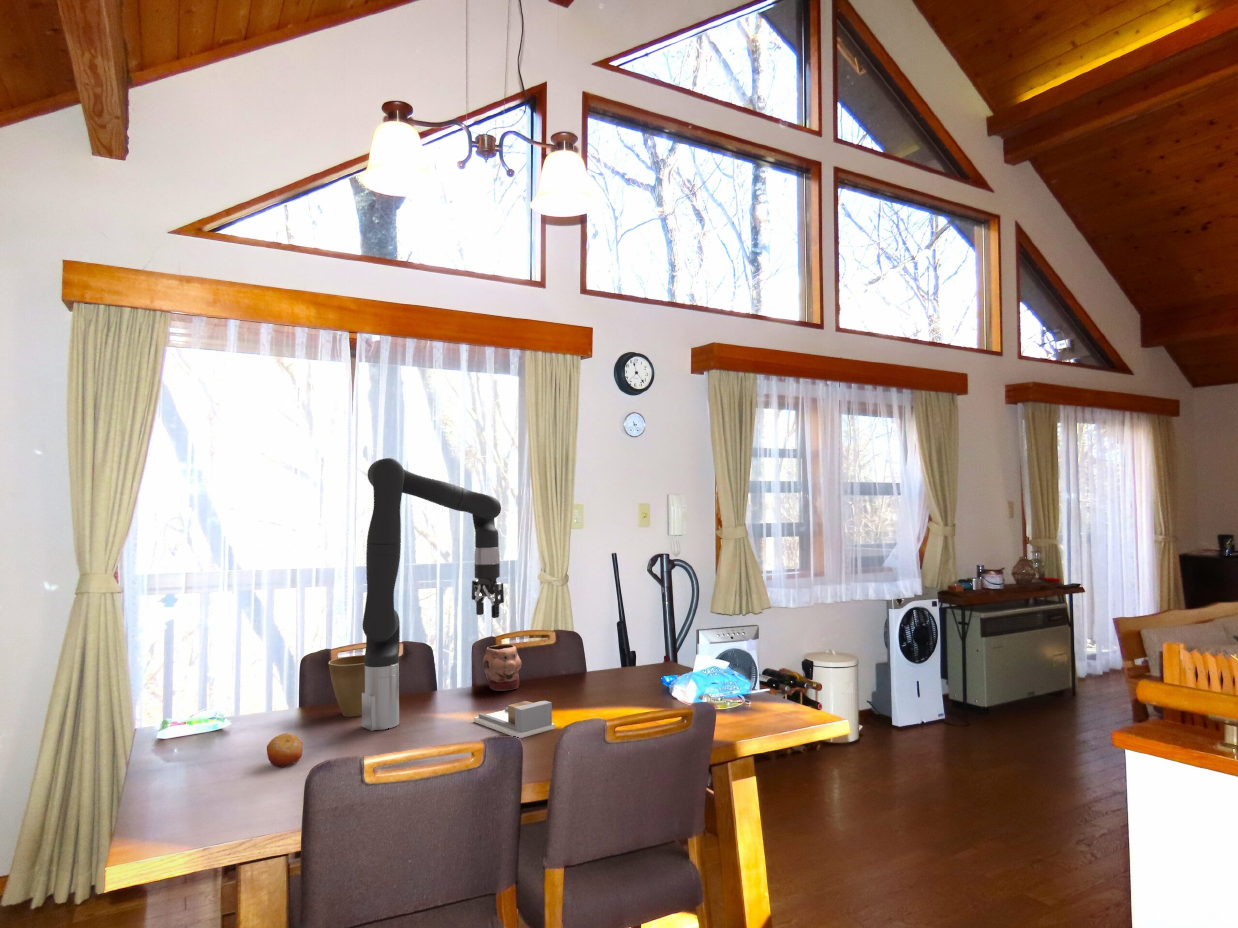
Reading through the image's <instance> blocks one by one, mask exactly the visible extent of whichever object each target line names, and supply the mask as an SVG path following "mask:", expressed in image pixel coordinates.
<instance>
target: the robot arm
mask: <svg viewBox="0 0 1238 928" xmlns="http://www.w3.org/2000/svg"><path fill="white" fill-rule="evenodd" d="M367 479H368V482H369V484H370V485H371V486H372V487H373V488H372V489H373V490H372V491H373V509H372V515H371V518H370V522H369V527H368V530H367V531H368V532H367V540H366V556H365V558H366V559H365V561H366V563H365V564H366V565H365V566H366V572H365V573H366V599H365V607H364V611H363V612H364V613H363V619H362V630H363V633H364V635H365V637H366V639H365V641H366V642H365V652H364V655H365V657H364V665H365V692H362V715H361V727H362V728H364V729H367V730H369V731H371V732H372V731H378V730H379V731H381V730H387V729H388V728H389V729H393V728H395V727H398V725H399V724H400V699H399V698H400V692H399V691H400V687H399V686H400V685H399V684H400V681H399V676H400V672H399V654H400V646H401V645H400V641H401V640H400V634H401V633H400V630H401V627H400V624H401V623H400V616H399V613H398V612H397V610H396V609H395V587H396V584H397V583H396V581H397V577H398V573H399V569H400V560H401V549H402V548H401V545H402V541H401V540H402V536H401V533H402V531H401V530H402V529H401V528H402V526H401V525H402V524H401V503H402V497H403V494H406V495H410V496H413V497H417V498H419V499H423V500H425V501H428V502H431V503H433V504H436V505H438V506H441V507H445V508H448V509H451V510H454V511H457V512H465V513H468V514H471V515H472V522H473V526H474V527H473V528H474V532H475V536H474V539H475V540H474V542H475V543H474V544H475V545H474V547H475V548H474V559H473V560H474V578H475V579H474V580H472V581H471V600H472V601H474V602H475V607H476V608H475V610H476V615H477V616H482V615H484V613H485V612H484V611H485V610H484V609H485V608H484V606H485V605H484V601H485V598H486V597H487V600H489V601H490V603H491V610H490V612H491V618H492V619H496V618H499V617H500V605H501V604H503V603H504V602H505V597H504V595H505V594H504V592H505V591H504V583H503V582H497V579H499V578H500V577H501V576H500V575H501V572H500V571H501V570H500V569H501V565H500V562H501V561H500V560H501V559H500V558H501V557H500V545H499V539H500V538H499V530H498V529H497V528H496V524H495V519H496V518H498V516H499V515H500V514H501V512H502V504H501V503H500V501H499V500H498V499H497V498H496V497H495V496H491V495H489V494H485V493H480V492H477V491H474V490H473V491H472V490H470V489H467V488H465V487H462V486H459V485H456V484H453V483H450V482H446V481H442V480H439V479H434V478H429V477H426V476H422V475H418V474H415V473H413V472H411V471H409V470H406V469H405V468H404V467H403V464H401V463H400V462H399V460H396V459H395V458H392V457H389V458H387V457H386V458H380V459H378V460H376V461H374V462H373V463H372V464H371V465H370V466H369V467H368V470H367Z"/></svg>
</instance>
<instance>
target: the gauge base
mask: <svg viewBox="0 0 1238 928" xmlns="http://www.w3.org/2000/svg"><path fill="white" fill-rule="evenodd" d="M540 701H541V702H539V701H537V703H535V702H532V703H533V704H529V705H525V706H520V707H516V708H515V725H514V724H512V723H509V722H508V706H507V707H506V706H505V708H504V709H503V710H500V711H496V712H491V713H487V714H485V713H483V712H481V713H478V716H475V717H473V722H474V723H476V724H479V725H482V726H484V727H487V728H490V729H492V730H495V731H497V732H500V733H503V734H505V735H509V736H510V737H513V736H516V737H519V738H518V739H523V738H527V737H529V736H533V735H537V734H540V733H543V732H544V733H545V732H548V731H552V730H555V729H556V724H555V723H553V713H552V711H553V709H552V703H553V702H551V701H547V700H540ZM516 737H515V738H516Z"/></svg>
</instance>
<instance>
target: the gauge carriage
mask: <svg viewBox="0 0 1238 928" xmlns="http://www.w3.org/2000/svg"><path fill="white" fill-rule="evenodd" d="M541 701H542V700H540V701H537V702H541ZM537 702H531V701H527V700H523V701H519V702H516V703H512V704H508V705H507V707H508V722H509V723H512V724H514V725H515V708H516V707H520V706H525V705H529V704H533V703H537Z"/></svg>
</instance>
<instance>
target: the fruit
mask: <svg viewBox="0 0 1238 928" xmlns="http://www.w3.org/2000/svg"><path fill="white" fill-rule="evenodd" d="M303 748H304V747H303V741H302V740H301V739H300V738H299V736H297V735H293V734H291V733H281V734H279V735H277V736H275V737H274V738H272V739H271V740H270V741H269V742H268V744H267V745H266V754H267V759H268V761H269V762H270V763H269V764H270V765H273V766H274V767H277V768H278V769H281V768H285V767H288V766H291V765H294V764H296V763H297V762H299V761H300V759H302V756H303V751H304V750H303Z"/></svg>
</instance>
